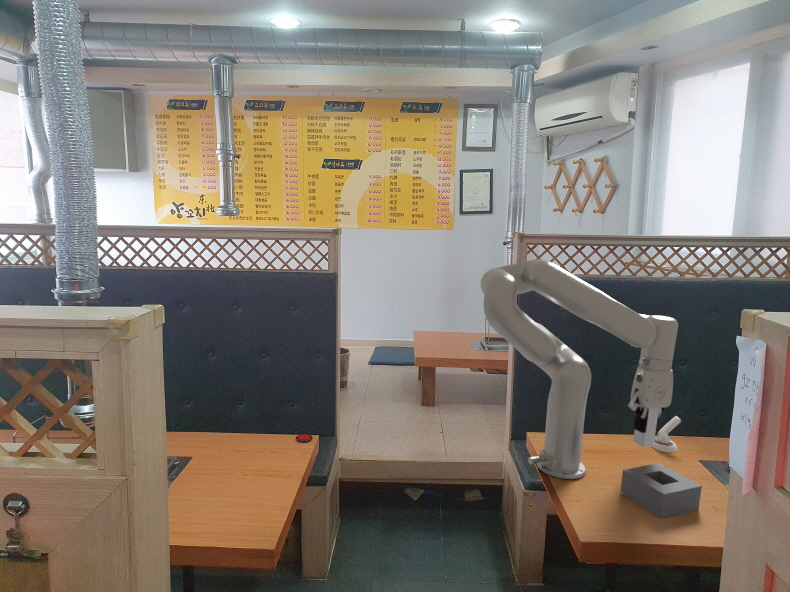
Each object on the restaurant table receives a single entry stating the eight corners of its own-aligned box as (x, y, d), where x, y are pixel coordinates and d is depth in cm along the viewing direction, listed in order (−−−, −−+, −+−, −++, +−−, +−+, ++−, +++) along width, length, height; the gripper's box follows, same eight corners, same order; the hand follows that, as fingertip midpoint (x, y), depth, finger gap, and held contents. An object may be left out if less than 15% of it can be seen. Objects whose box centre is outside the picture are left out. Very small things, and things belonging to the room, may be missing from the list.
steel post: (643, 446, 136) (650, 399, 134) (632, 441, 139) (640, 394, 137) (653, 445, 138) (660, 398, 136) (642, 439, 141) (649, 393, 139)
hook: (701, 437, 152) (686, 425, 150) (670, 464, 155) (656, 453, 153) (685, 422, 159) (671, 411, 157) (657, 448, 162) (642, 438, 160)
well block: (661, 518, 118) (664, 494, 117) (620, 492, 129) (622, 469, 128) (698, 509, 123) (701, 485, 122) (656, 485, 133) (658, 463, 133)
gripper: (643, 368, 129) (632, 439, 131) (690, 366, 135) (679, 433, 138) (620, 360, 136) (610, 427, 138) (666, 358, 142) (656, 422, 145)
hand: (645, 429), depth 138 cm, fingers closed on steel post, 3 cm apart
